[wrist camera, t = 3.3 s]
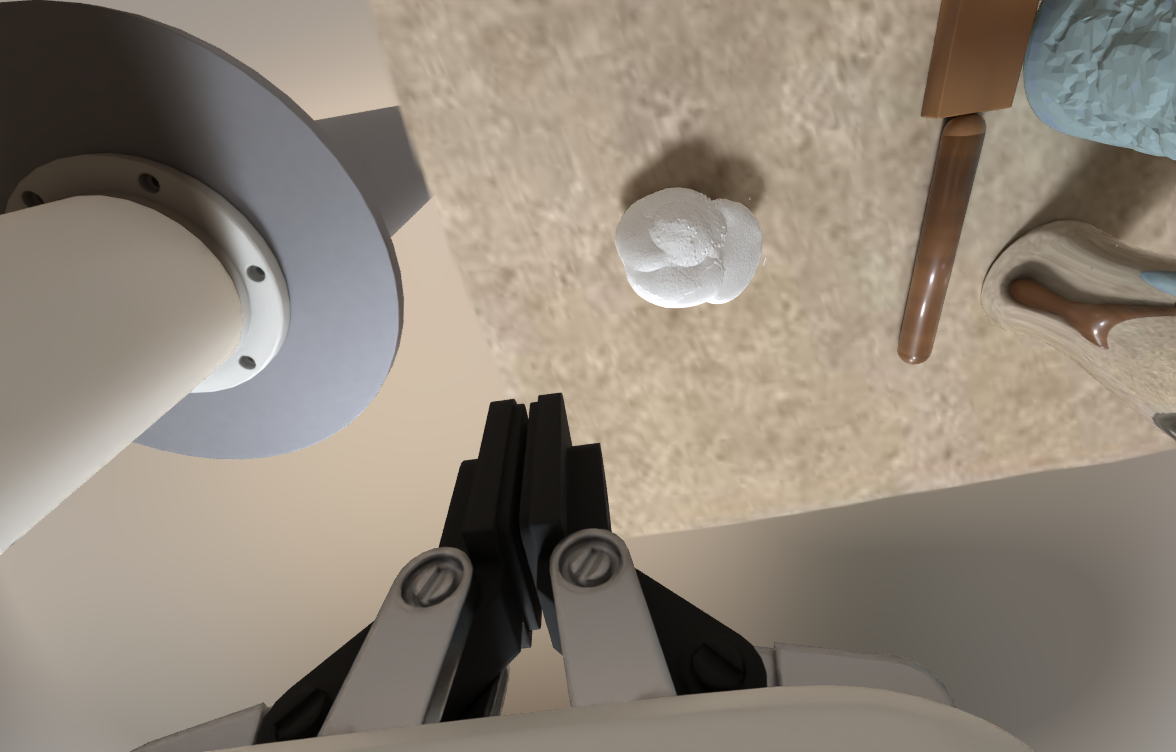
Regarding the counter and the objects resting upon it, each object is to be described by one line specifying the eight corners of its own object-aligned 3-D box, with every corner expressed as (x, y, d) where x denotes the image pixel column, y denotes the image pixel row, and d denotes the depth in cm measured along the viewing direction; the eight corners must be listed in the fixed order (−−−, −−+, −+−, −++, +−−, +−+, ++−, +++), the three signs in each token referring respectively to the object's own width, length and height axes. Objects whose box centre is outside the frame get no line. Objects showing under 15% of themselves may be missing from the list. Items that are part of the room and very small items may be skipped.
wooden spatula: (931, 351, 29) (949, 365, 28) (875, 359, 29) (891, 373, 28) (1021, -16, 20) (1054, -23, 19) (941, -4, 21) (969, -10, 19)
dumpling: (614, 291, 27) (608, 306, 23) (621, 185, 25) (615, 182, 21) (751, 300, 26) (767, 317, 22) (768, 192, 24) (789, 190, 20)
